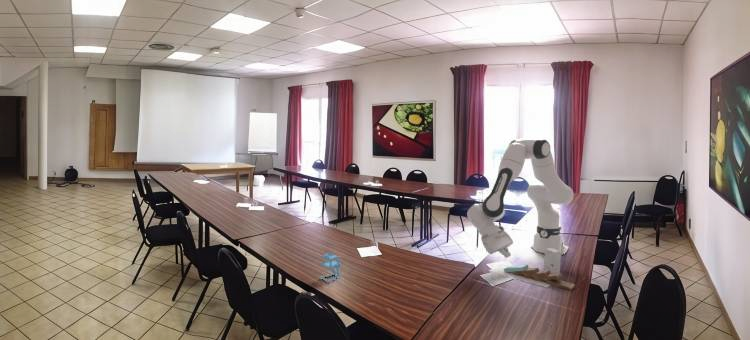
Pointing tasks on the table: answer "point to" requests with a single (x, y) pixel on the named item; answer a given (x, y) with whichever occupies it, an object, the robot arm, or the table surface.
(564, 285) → the domino
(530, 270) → the domino
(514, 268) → the domino
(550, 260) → the skincare box
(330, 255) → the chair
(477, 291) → the table surface
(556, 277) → the domino
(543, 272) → the domino
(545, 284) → the row mat
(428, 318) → the table surface
